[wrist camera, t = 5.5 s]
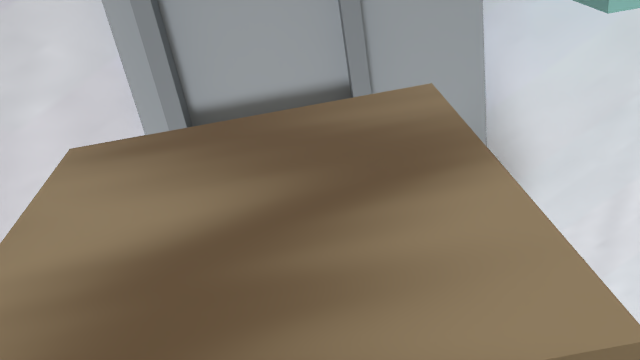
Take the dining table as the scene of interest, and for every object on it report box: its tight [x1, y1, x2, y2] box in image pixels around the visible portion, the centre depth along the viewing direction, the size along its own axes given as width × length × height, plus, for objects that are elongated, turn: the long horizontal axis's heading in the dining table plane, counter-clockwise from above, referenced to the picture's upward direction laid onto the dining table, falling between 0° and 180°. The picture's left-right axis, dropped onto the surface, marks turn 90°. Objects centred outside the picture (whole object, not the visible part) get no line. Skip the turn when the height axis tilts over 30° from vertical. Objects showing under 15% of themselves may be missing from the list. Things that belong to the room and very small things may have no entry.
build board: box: [102, 0, 487, 147], centre depth 26 cm, size 16×12×2 cm
